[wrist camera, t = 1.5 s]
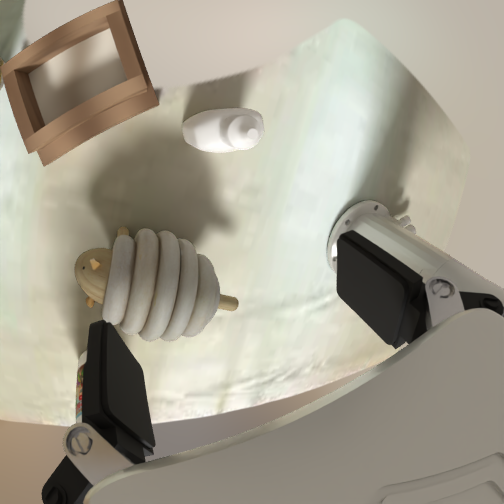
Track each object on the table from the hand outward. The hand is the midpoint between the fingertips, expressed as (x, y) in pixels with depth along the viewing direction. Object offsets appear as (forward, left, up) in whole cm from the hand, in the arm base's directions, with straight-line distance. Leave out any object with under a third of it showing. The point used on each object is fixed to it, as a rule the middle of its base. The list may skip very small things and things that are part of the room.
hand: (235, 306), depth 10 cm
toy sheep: (+6, +7, -21) cm, 23 cm away
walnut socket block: (+5, -14, -20) cm, 25 cm away
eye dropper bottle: (-5, -4, -21) cm, 22 cm away
